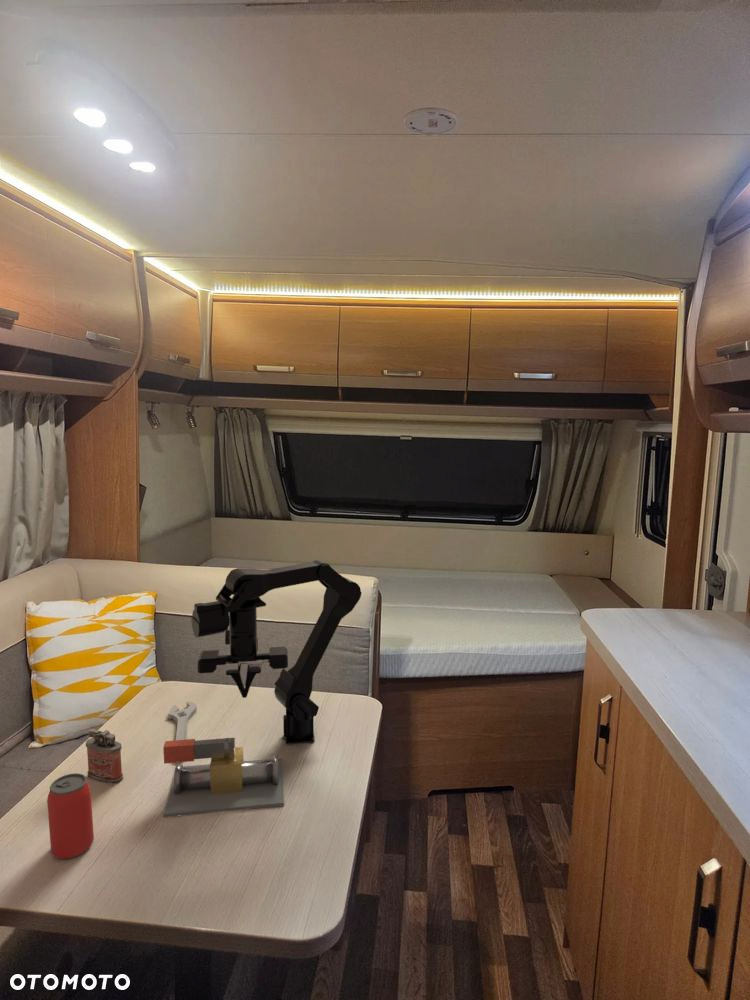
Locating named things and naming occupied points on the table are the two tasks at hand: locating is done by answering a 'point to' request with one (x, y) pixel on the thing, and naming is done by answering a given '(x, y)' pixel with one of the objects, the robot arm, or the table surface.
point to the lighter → (104, 757)
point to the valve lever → (197, 749)
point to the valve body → (226, 774)
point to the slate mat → (226, 797)
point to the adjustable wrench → (182, 719)
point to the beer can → (70, 816)
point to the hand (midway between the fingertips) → (244, 696)
